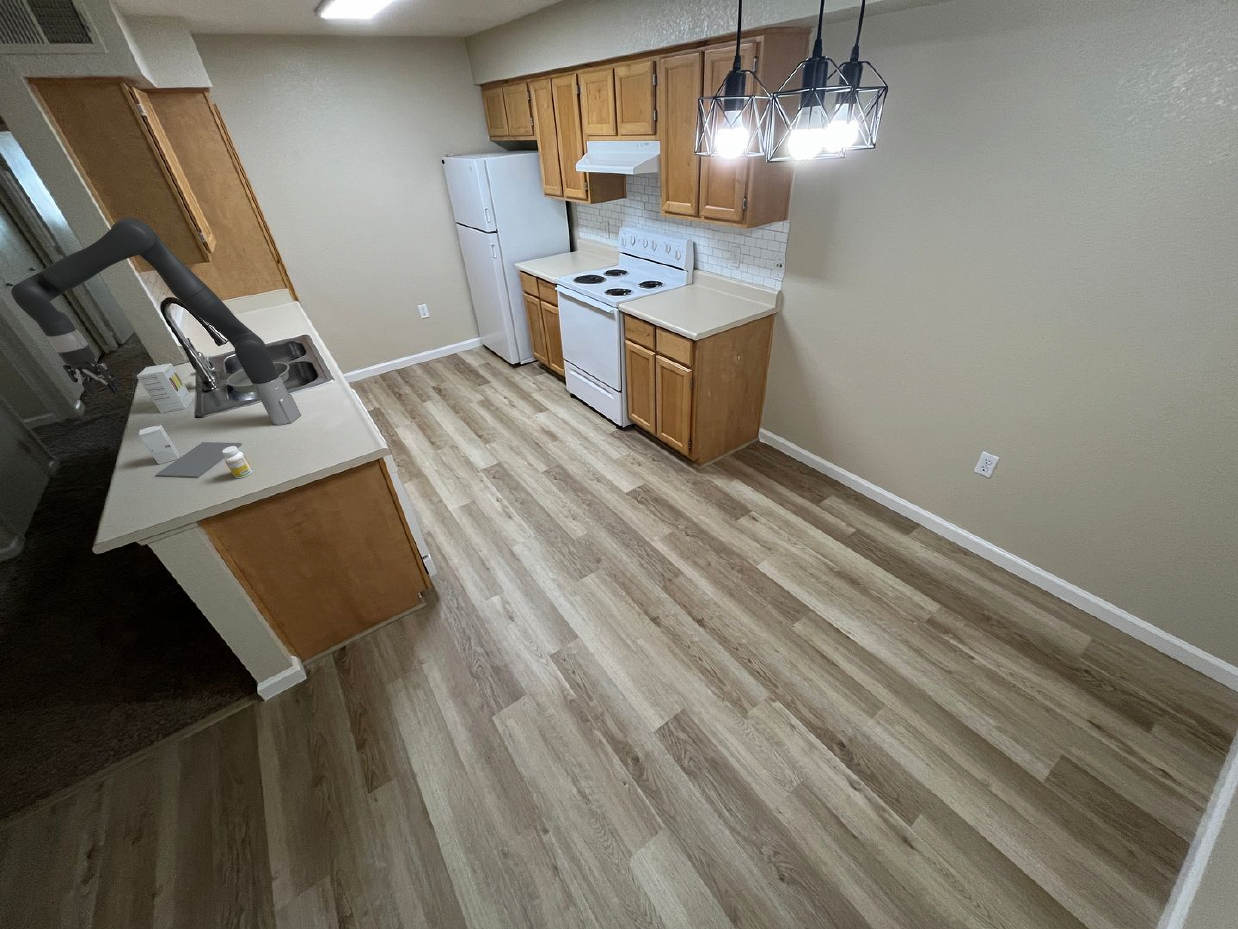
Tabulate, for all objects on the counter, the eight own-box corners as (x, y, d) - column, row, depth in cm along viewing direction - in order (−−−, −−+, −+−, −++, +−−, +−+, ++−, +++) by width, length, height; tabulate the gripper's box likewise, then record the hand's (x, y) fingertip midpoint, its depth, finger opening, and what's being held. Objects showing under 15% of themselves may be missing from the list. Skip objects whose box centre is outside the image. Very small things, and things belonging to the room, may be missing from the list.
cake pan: (294, 384, 223) (289, 375, 221) (229, 400, 214) (224, 391, 211) (292, 365, 241) (288, 357, 238) (232, 379, 232) (227, 370, 229)
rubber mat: (242, 444, 183) (241, 443, 183) (198, 477, 167) (197, 476, 167) (203, 443, 185) (202, 442, 185) (156, 476, 169) (155, 474, 169)
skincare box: (158, 465, 175) (137, 435, 168) (159, 459, 178) (138, 429, 171) (179, 458, 178) (159, 429, 171) (180, 453, 181) (160, 423, 174)
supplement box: (186, 409, 209) (162, 371, 200) (160, 413, 207) (135, 376, 197) (193, 399, 217) (171, 362, 207) (168, 403, 215) (145, 366, 205)
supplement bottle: (239, 469, 170) (225, 445, 164) (256, 468, 170) (242, 443, 164) (231, 479, 165) (215, 454, 159) (248, 477, 165) (233, 453, 160)
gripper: (39, 351, 155) (75, 398, 164) (79, 351, 153) (113, 399, 163) (64, 342, 161) (97, 388, 170) (102, 341, 159) (134, 388, 169)
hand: (104, 393), depth 166 cm, fingers open, 8 cm apart
